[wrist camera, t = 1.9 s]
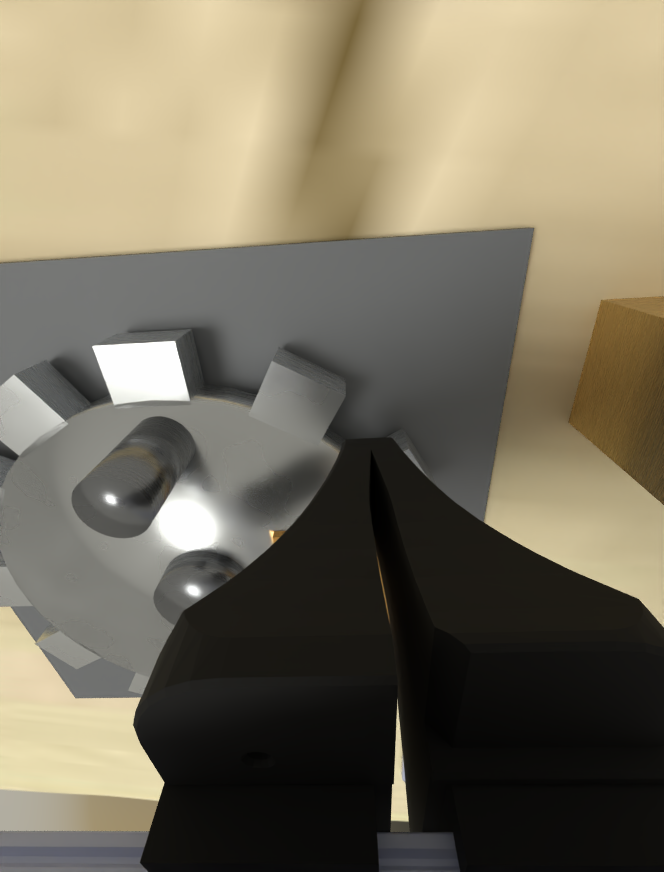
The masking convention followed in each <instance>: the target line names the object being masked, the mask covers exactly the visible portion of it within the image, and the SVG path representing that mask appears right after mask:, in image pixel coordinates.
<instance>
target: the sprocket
mask: <svg viewBox="0 0 664 872" xmlns="http://www.w3.org/2000/svg"><path fill="white" fill-rule="evenodd" d="M92 347H93V349H94V352H95V355H96V357H97V360H98V363H99V366H100V368H101V371H102V374H103V376H104V379H105V382H106V385H107V387H108V390H109V393H110V395H108V396H106V397H103V398H101V399H99V400H96V401H94V402H90V401H89V400H87V399H86V398H85V397H84V396H83V395H82V394H81V393H80V392H79V391H78V390H77V389H76V388H75V387H74V386H73V385H72V384H71V383H70V382H69V381H68V380H67V379H66V378H65V377H63V376H62V375H61V374H60V373H59V372H58V371H57V370H56V369H55V368H54V367H53V366H52V365H51V364H50V363H49V362H48V361H47V360H44V361H42V362H40V363H38V364H36V365H34V366H31V367H29V368H27V369H25V370H23V371H21V372H18V373H16V374H14V375H13V376H12V377H11V378H9V379H8V380H7V381H6V382H5V383H4V384H2V385H1V386H0V441H2V442H3V443H4V444H5V445H7V446H8V447H9V448H10V449H11V450H13V451H14V452H15V453H16V454H18V455H19V457H18V459H17V460H16V461H15V460H12V459H9V458H6V457H4V456H1V455H0V607H9V606H34V607H35V608H36V609H37V611H38V612H39V613H40V614H41V615H42V616H43V617H44V618H45V619H46V620H47V621H49V622H50V624H49V625H48V627H47V628H46V629H45V631H44V632H43V634H42V635H41V636H40V638H39V639H38V640H37V642H36V643H35V644H36V645H37V646H39V647H41V648H42V649H44V650H46V651H47V652H49V653H51V654H52V655H54V656H56V657H57V658H59V659H61V660H62V661H64V662H65V663H67V664H69V665H70V666H72V667H74V668H75V669H78V668H81V667H83V666H85V665H87V664H89V663H91V662H93V661H96V660H98V659H100V658H103V659H105V660H108V661H110V662H112V663H114V664H116V665H118V666H120V667H123V668H126V669H128V670H131V671H133V672H136V673H135V676H134V678H133V680H132V683H131V685H130V687H129V690H128V691H131V692H135V693H139V694H143V692H144V690H145V688H146V685H147V683H148V680H149V678H150V676H151V673H152V671H153V668H154V666H155V664H156V661H157V659H158V657H159V654H160V652H161V650H162V648H163V647H164V645H165V643H166V641H167V639H168V637H169V635H170V634H171V632H172V630H173V628H174V627H175V625H176V623H177V621H178V619H179V617H180V615H181V614H182V612H183V611H184V610H185V609H187V608H189V607H190V606H192V605H193V604H195V603H196V602H198V601H199V600H201V599H202V598H204V597H205V596H207V595H208V594H210V593H211V592H213V591H214V590H216V589H217V588H219V587H220V586H222V585H223V584H225V583H226V582H228V581H229V580H230V579H232V578H233V577H234V576H236V575H237V574H238V573H240V572H241V571H242V570H243V569H245V568H246V567H247V566H248V565H249V564H251V563H252V562H253V561H254V560H255V559H257V558H258V557H259V556H260V555H261V554H263V553H264V552H265V551H266V550H267V549H268V548H269V547H270V546H271V545H272V544H274V543H275V542H276V541H277V540H278V539H279V538H280V536H281V535H282V534H283V533H284V532H285V531H286V530H287V529H288V528H289V527H290V526H291V525H292V524H293V523H294V522H295V520H296V519H297V518H298V517H299V516H300V515H301V513H302V512H303V511H304V510H305V508H306V507H307V506H308V505H309V503H310V502H311V501H312V499H313V498H314V496H315V495H316V493H317V492H318V490H319V489H320V487H321V486H322V484H323V483H324V481H325V480H326V478H327V476H328V474H329V472H330V471H331V469H332V467H333V465H334V463H335V461H336V459H337V457H338V454H339V452H340V449H341V446H342V443H343V442H344V441H345V440H344V439H343V438H342V437H341V436H339V435H338V434H336V433H335V432H334V431H332V430H331V429H329V428H328V427H329V425H330V423H331V422H332V420H333V418H334V416H335V414H336V413H337V411H338V409H339V407H340V406H341V404H342V402H343V400H344V398H345V397H346V383H345V379H344V378H342V377H340V376H338V375H336V374H334V373H332V372H330V371H327V370H325V369H323V368H321V367H319V366H317V365H315V364H313V363H311V362H309V361H307V360H305V359H303V358H301V357H298V356H296V355H294V354H292V353H290V352H288V351H286V350H284V349H282V348H280V347H279V348H278V350H277V352H276V354H275V356H274V358H273V360H272V362H271V364H270V367H269V369H268V371H267V374H266V376H265V378H264V380H263V383H262V385H261V387H260V390H259V392H258V394H254V393H250V392H246V391H242V390H238V389H234V388H229V387H222V386H214V385H207V384H205V383H204V379H203V375H202V370H201V366H200V362H199V358H198V353H197V349H196V345H195V341H194V336H193V332H192V329H187V330H169V331H152V332H134V333H118V334H116V335H113V336H111V337H109V338H107V339H105V340H103V341H101V342H99V343H97V344H95V345H93V346H92ZM388 437H391V438H392V439H393V440H394V441H395V442H396V443H397V444H398V445H399V447H400V448H401V449H402V450H403V452H404V453H405V454H406V455H407V456H408V457H409V458H410V460H411V461H412V462H413V463H414V464H415V465H416V466H417V467H418V468H419V469H420V470H421V471H422V472H423V473H424V474H425V475H426V476H427V477H428V478H429V479H430V480H431V481H432V482H433V483H434V484H435V485H436V482H435V480H434V477H433V475H432V473H431V472H430V470H429V468H428V467H427V465H426V464H425V462H424V461H423V459H422V458H421V456H420V454H419V453H418V451H417V450H416V448H415V447H414V445H413V444H412V442H411V440H410V439H409V437H408V436H407V434H406V433H405V431H404V430H403V428H402V429H401V430H399V431H397V432H395V433H393V434H391V435H389V436H388ZM436 486H437V485H436ZM377 559H378V557H377ZM378 565H379V562H378ZM379 571H380V567H379ZM380 577H381V572H380ZM381 582H382V577H381ZM382 587H383V582H382ZM383 592H384V587H383ZM384 598H385V603H386V608H387V602H386V597H385V592H384ZM387 613H388V608H387ZM388 618H389V614H388ZM389 623H390V621H389Z"/></svg>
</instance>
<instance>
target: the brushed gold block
mask: <svg viewBox="0 0 664 872" xmlns="http://www.w3.org/2000/svg"><path fill="white" fill-rule="evenodd" d="M569 423H570V424H571V425H572V426H573V427H575V428H576V429H577V430H578V431H579V432H580V433H581V434H583V435H584V436H585V437H586V438H587V439H588V440H590V441H591V442H592V443H593V444H594V445H595V446H596V447H598V448H599V449H600V450H601V451H602V452H603V453H604V454H606V455H607V456H608V457H609V458H610V459H611V460H613V461H614V462H615V463H616V464H617V465H618V466H619V467H621V468H622V469H623V470H624V471H625V472H626V473H628V474H629V475H630V476H631V477H632V478H633V479H634V480H636V481H637V482H638V483H639V484H640V485H641V486H642V487H644V488H645V489H646V490H647V491H648V492H649V493H651V494H652V495H653V496H654V497H655V498H656V499H657V500H659V501H660V502H661V503H662V504H663V505H664V296H662V297H644V298H627V299H609V300H601V304H600V307H599V311H598V315H597V318H596V322H595V326H594V330H593V333H592V337H591V341H590V344H589V348H588V352H587V355H586V359H585V363H584V367H583V370H582V374H581V378H580V381H579V385H578V389H577V392H576V396H575V400H574V404H573V407H572V411H571V415H570V418H569Z"/></svg>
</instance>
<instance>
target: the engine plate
mask: <svg viewBox="0 0 664 872" xmlns="http://www.w3.org/2000/svg"><path fill="white" fill-rule="evenodd" d="M533 231H534V228H518V229H503V230H488V231H473V232H458V233H443V234H428V235H413V236H398V237H383V238H369V239H354V240H339V241H324V242H309V243H294V244H279V245H264V246H249V247H234V248H219V249H204V250H189V251H174V252H159V253H144V254H129V255H114V256H99V257H84V258H69V259H54V260H39V261H24V262H9V263H0V386H1V385H2V384H4V383H5V382H6V381H7V380H8V379H9V378H11V377H12V376H13V375H14V374H16V373H18V372H21V371H23V370H25V369H27V368H29V367H31V366H34V365H36V364H38V363H40V362H42V361H44V360H47V361H48V362H49V363H50V364H51V365H52V366H53V367H54V368H55V369H56V370H57V371H58V372H59V373H60V374H61V375H62V376H63V377H65V378H66V379H67V380H68V381H69V382H70V383H71V384H72V385H73V386H74V387H75V388H76V389H77V390H78V391H79V392H80V393H81V394H82V395H83V396H84V397H85V398H86V399H87V400H89V401H90V402H94V401H96V400H99V399H101V398H103V397H106V396H108V395H110V393H109V390H108V387H107V385H106V382H105V379H104V376H103V374H102V371H101V368H100V366H99V363H98V360H97V357H96V355H95V352H94V349H93V347H92V346H93V345H95V344H97V343H99V342H101V341H103V340H105V339H107V338H109V337H111V336H113V335H116V334H118V333H134V332H152V331H169V330H187V329H192V332H193V336H194V341H195V345H196V349H197V353H198V358H199V362H200V366H201V370H202V375H203V379H204V383H205V384H207V385H214V386H222V387H229V388H234V389H238V390H242V391H246V392H250V393H254V394H258V392H259V390H260V387H261V385H262V383H263V380H264V378H265V376H266V374H267V371H268V369H269V367H270V364H271V362H272V360H273V358H274V356H275V354H276V352H277V350H278V348H279V347H280V348H282V349H284V350H286V351H288V352H290V353H292V354H294V355H296V356H298V357H301V358H303V359H305V360H307V361H309V362H311V363H313V364H315V365H317V366H319V367H321V368H323V369H325V370H327V371H330V372H332V373H334V374H336V375H338V376H340V377H342V378H344V379H345V383H346V397H345V398H344V400H343V402H342V404H341V406H340V407H339V409H338V411H337V413H336V414H335V416H334V418H333V420H332V422H331V423H330V425H329V427H328V428H329V429H331V430H332V431H334V432H335V433H336V434H338V435H339V436H341V437H342V438H343V439H344V440H346V439H362V438H385V437H388V436H389V435H391V434H393V433H395V432H397V431H399V430H401V429H402V428H403V430H404V431H405V433H406V434H407V436H408V437H409V439H410V440H411V442H412V444H413V445H414V447H415V448H416V450H417V451H418V453H419V454H420V456H421V458H422V459H423V461H424V462H425V464H426V465H427V467H428V468H429V470H430V472H431V473H432V475H433V477H434V480H435V482H436V485H437V487H438V488H439V489H440V490H441V491H443V492H444V493H445V494H446V495H447V496H448V497H450V498H451V499H452V500H453V501H455V502H456V503H457V504H458V505H460V506H461V507H463V508H464V509H465V510H467V511H468V512H469V513H471V514H472V515H474V516H475V517H476V518H478V519H479V520H481V521H482V522H483V521H484V515H485V510H486V504H487V498H488V492H489V486H490V481H491V475H492V469H493V463H494V457H495V451H496V446H497V440H498V434H499V428H500V422H501V417H502V411H503V405H504V399H505V393H506V388H507V382H508V376H509V370H510V364H511V359H512V353H513V347H514V341H515V335H516V329H517V324H518V318H519V312H520V306H521V300H522V295H523V289H524V283H525V277H526V271H527V266H528V260H529V254H530V248H531V242H532V237H533ZM0 455H1V456H4V457H6V458H9V459H12V460H15V461H16V460H17V459H18V457H19V455H18V454H16V453H15V452H14V451H13V450H11V449H10V448H9V447H8V446H7V445H5V444H4V443H3V442H2V441H0ZM10 607H11V608H12V609H13V611H14V612H15V614H16V615H17V616H18V618H19V619H20V621H21V622H22V623H23V625H24V626H25V628H26V629H27V630H28V632H29V633H30V635H31V636H32V637H33V639H34V640H35V642H37V640H38V639H39V638H40V636H41V635H42V634H43V632H44V631H45V629H46V628H47V627H48V625H49V624H50V622H49V621H47V620H46V619H45V618H44V617H43V616H42V615H41V614H40V613H39V612H38V611H37V609H36V608H35V607H34V606H10ZM40 649H41V650H42V652H43V653H44V654H45V656H46V657H47V659H48V660H49V661H50V663H51V664H52V666H53V667H54V668H55V670H56V671H57V673H58V674H59V675H60V677H61V678H62V680H63V681H64V682H65V684H66V685H67V687H68V688H69V690H70V691H71V692H72V694H73V695H74V697H75V698H130V697H142V695H143V694H139V693H135V692H131V691H128V690H129V687H130V685H131V683H132V680H133V678H134V676H135V673H136V672H133V671H131V670H128V669H126V668H123V667H120V666H118V665H116V664H114V663H112V662H110V661H108V660H105V659H103V658H100V659H98V660H96V661H93V662H91V663H89V664H87V665H85V666H83V667H81V668H78V669H75V668H74V667H72V666H70V665H69V664H67V663H65V662H64V661H62V660H61V659H59V658H57V657H56V656H54V655H52V654H51V653H49V652H47V651H46V650H44V649H42V648H41V647H40Z"/></svg>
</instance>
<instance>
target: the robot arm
mask: <svg viewBox="0 0 664 872" xmlns="http://www.w3.org/2000/svg"><path fill="white" fill-rule="evenodd" d="M377 557H378V559H377ZM378 562H379V565H378ZM379 567H380V571H379ZM380 572H381V577H382V582H383V587H384V592H385V597H386V602H387V608H388V613H387V608H386V603H385V598H384V592H383V587H382V582H381V577H380ZM388 614H389V618H388ZM389 621H390V623H389ZM397 699H398V709H399V719H400V730H401V740H402V751H403V756H402V772H401V773H402V780H403V781H404V782H405V783H406V794H407V805H408V816H409V828H410V832H390V826H391V799H392V784H394V765H395V741H396V717H397ZM133 726H134V728H135V731H136V734H137V737H138V739H139V741H140V744H141V746H142V747H143V749H144V750H145V752H146V754H147V755H148V757H149V758H150V760H151V762H152V763H153V765H154V766H155V768H156V769H157V771H158V773H159V774H160V776H161V777H162V779H163V781H164V782H165V783H164V786H163V790H162V793H161V796H160V799H159V802H158V806H157V809H156V812H155V815H154V819H153V822H152V825H151V828H150V831H148V832H147V831H146V832H145V831H144V832H143V831H0V872H664V628H663V626H662V625H661V624H660V623H659V622H658V621H657V619H656V618H655V617H654V616H653V615H652V614H651V612H650V611H649V610H648V609H647V608H646V607H645V606H644V605H643V603H642V602H641V601H640V600H639V599H637V598H635V597H632V596H630V595H628V594H625V593H623V592H621V591H618V590H616V589H614V588H611V587H609V586H606V585H604V584H602V583H599V582H597V581H595V580H592V579H590V578H587V577H585V576H583V575H580V574H578V573H576V572H573V571H571V570H569V569H567V568H565V567H563V566H561V565H559V564H557V563H555V562H553V561H551V560H549V559H547V558H545V557H543V556H541V555H539V554H537V553H535V552H533V551H531V550H529V549H528V548H526V547H524V546H522V545H520V544H518V543H517V542H515V541H513V540H511V539H510V538H508V537H506V536H505V535H503V534H501V533H500V532H498V531H496V530H495V529H493V528H491V527H490V526H488V525H487V524H485V523H484V522H482V521H481V520H479V519H478V518H476V517H475V516H474V515H472V514H471V513H469V512H468V511H467V510H465V509H464V508H463V507H461V506H460V505H458V504H457V503H456V502H455V501H453V500H452V499H451V498H450V497H448V496H447V495H446V494H445V493H444V492H443V491H441V490H440V489H439V488H438V487H437V486H436V485H435V484H434V483H433V482H432V481H431V480H430V479H429V478H428V477H427V476H426V475H425V474H424V473H423V472H422V471H421V470H420V469H419V468H418V467H417V466H416V465H415V464H414V463H413V462H412V461H411V460H410V458H409V457H408V456H407V455H406V454H405V453H404V452H403V450H402V449H401V448H400V447H399V445H398V444H397V443H396V442H395V441H394V440H393V439H392V438H391V437H385V438H362V439H346V440H345V441H344V442H343V443H342V446H341V449H340V452H339V454H338V457H337V459H336V461H335V463H334V465H333V467H332V469H331V471H330V472H329V474H328V476H327V478H326V480H325V481H324V483H323V484H322V486H321V487H320V489H319V490H318V492H317V493H316V495H315V496H314V498H313V499H312V501H311V502H310V503H309V505H308V506H307V507H306V508H305V510H304V511H303V512H302V513H301V515H300V516H299V517H298V518H297V519H296V520H295V522H294V523H293V524H292V525H291V526H290V527H289V528H288V529H287V530H286V531H285V532H284V533H283V534H282V535H281V536H280V538H279V539H278V540H277V541H276V542H275V543H274V544H272V545H271V546H270V547H269V548H268V549H267V550H266V551H265V552H264V553H263V554H261V555H260V556H259V557H258V558H257V559H255V560H254V561H253V562H252V563H251V564H249V565H248V566H247V567H246V568H245V569H243V570H242V571H241V572H240V573H238V574H237V575H236V576H234V577H233V578H232V579H230V580H229V581H228V582H226V583H225V584H223V585H222V586H220V587H219V588H217V589H216V590H214V591H213V592H211V593H210V594H208V595H207V596H205V597H204V598H202V599H201V600H199V601H198V602H196V603H195V604H193V605H192V606H190V607H189V608H187V609H185V610H184V611H183V612H182V614H181V615H180V617H179V619H178V621H177V623H176V625H175V627H174V628H173V630H172V632H171V634H170V635H169V637H168V639H167V641H166V643H165V645H164V647H163V648H162V650H161V652H160V654H159V657H158V659H157V661H156V664H155V666H154V668H153V671H152V673H151V676H150V678H149V680H148V683H147V685H146V688H145V690H144V692H143V695H142V697H141V699H140V702H139V704H138V707H137V709H136V712H135V718H134V723H133Z"/></svg>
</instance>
